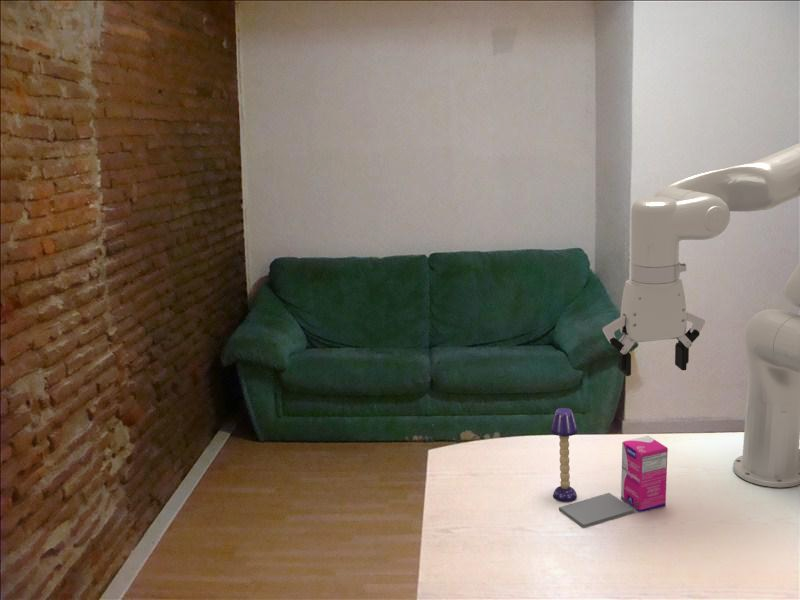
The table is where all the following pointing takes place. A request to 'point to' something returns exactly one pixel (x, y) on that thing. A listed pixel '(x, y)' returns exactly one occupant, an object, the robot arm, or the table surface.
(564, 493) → the toy lamp
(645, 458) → the supplement box
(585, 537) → the table surface
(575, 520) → the mat
